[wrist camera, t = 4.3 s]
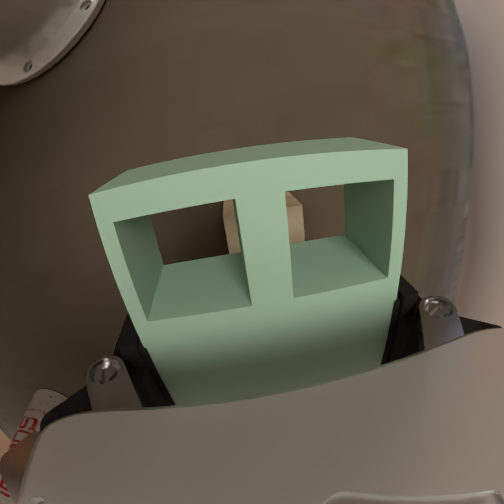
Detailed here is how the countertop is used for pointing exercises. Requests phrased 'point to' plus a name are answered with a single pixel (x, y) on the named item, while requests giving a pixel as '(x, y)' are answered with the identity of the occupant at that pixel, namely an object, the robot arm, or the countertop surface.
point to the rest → (292, 217)
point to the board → (261, 267)
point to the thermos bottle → (31, 425)
